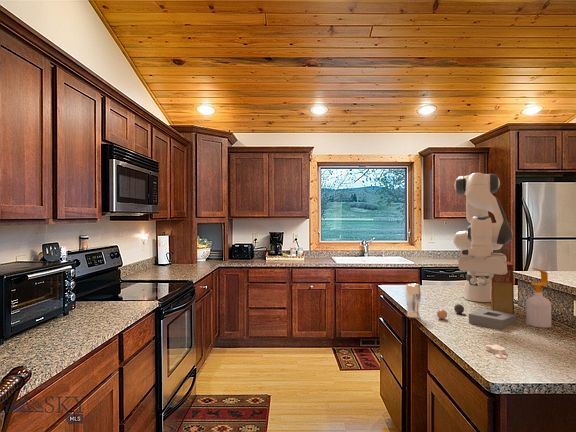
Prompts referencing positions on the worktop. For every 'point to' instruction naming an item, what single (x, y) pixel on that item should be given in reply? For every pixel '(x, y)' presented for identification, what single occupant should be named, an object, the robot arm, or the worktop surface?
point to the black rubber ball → (459, 308)
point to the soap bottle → (539, 305)
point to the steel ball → (481, 281)
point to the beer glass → (413, 300)
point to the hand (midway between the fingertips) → (482, 282)
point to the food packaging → (503, 291)
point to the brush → (496, 350)
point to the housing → (492, 319)
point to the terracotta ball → (441, 314)
